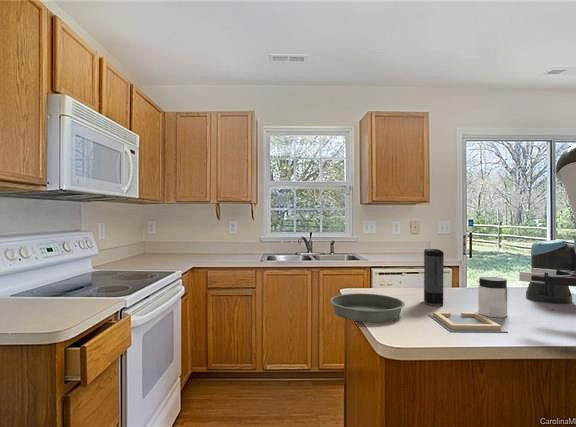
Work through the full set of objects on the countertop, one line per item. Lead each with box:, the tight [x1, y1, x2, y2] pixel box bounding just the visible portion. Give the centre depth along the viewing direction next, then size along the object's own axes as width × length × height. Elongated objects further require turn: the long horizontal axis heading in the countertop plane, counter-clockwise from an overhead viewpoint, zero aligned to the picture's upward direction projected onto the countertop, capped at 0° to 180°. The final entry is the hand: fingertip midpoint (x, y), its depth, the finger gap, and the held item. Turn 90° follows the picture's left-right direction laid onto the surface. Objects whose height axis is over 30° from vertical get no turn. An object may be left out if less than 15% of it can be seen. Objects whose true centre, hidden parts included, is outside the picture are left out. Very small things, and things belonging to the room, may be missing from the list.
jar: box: [477, 276, 508, 319], centre depth 129 cm, size 9×8×12 cm
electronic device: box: [423, 248, 445, 307], centre depth 145 cm, size 9×6×20 cm, turn 168°
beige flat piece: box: [428, 311, 509, 334], centre depth 118 cm, size 16×18×2 cm
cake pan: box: [329, 293, 406, 323], centre depth 129 cm, size 25×25×4 cm
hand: (526, 274), depth 121 cm, fingers open, 13 cm apart
